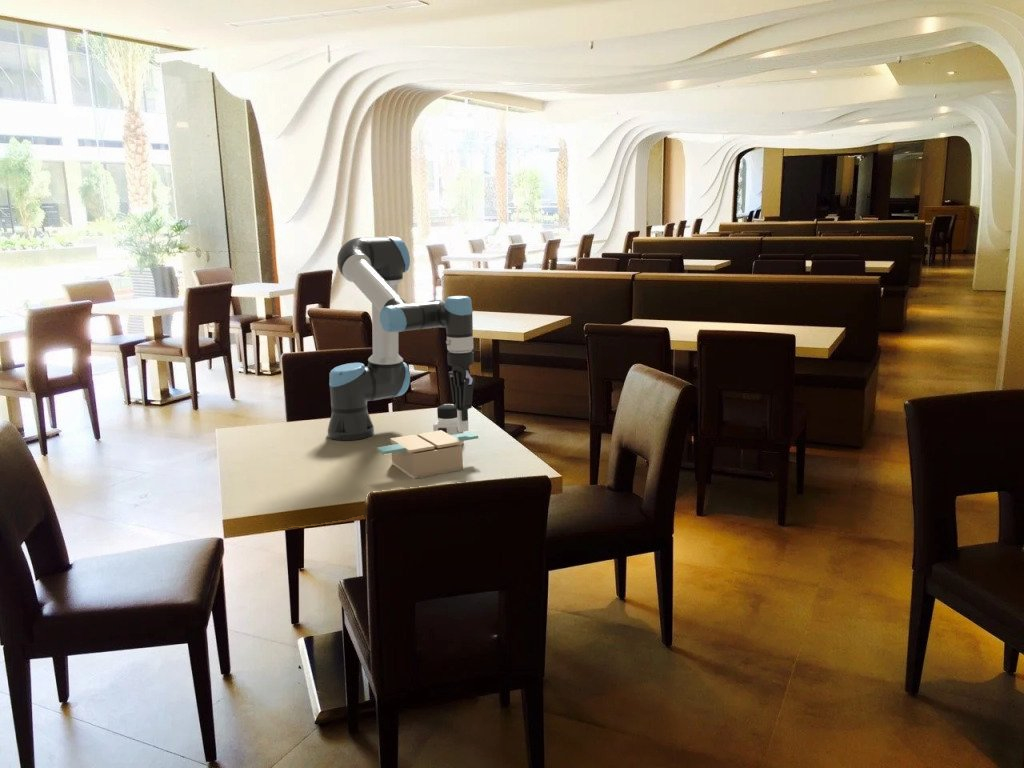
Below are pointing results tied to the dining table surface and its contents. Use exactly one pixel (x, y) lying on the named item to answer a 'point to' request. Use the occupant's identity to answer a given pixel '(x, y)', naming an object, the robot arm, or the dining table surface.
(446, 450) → the carton
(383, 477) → the dining table surface
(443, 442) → the far flap
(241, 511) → the dining table surface
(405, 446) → the near flap
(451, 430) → the container
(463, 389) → the robot arm
